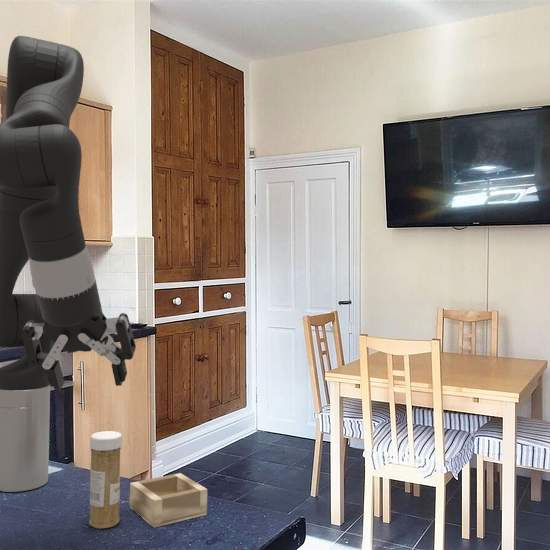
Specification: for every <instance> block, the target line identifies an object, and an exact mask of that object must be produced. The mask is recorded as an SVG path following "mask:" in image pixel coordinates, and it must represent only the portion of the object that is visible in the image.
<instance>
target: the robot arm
mask: <svg viewBox="0 0 550 550" xmlns="http://www.w3.org/2000/svg"><path fill="white" fill-rule="evenodd" d="M6 71H7V72H6V98H5V99H6V101H5V102H6V103H5V106H6V107H5V119H4V120H3V121H2V122H1V123H0V349H1V348H22V347H24V351H25V354H24V355H22V356H21V357H20V358H19V359H17V360H15V361H13V362H11V363H8V364H6V365H3V366H0V492H7V493H13V492H14V493H15V492H24V491H30V490H35V489H38V488H40V487H43V486H44V485H46V484H47V483H48V481H49V462H50V461H49V459H50V458H49V456H50V417H51V415H50V414H51V413H50V412H51V409H50V408H51V400H50V399H51V387H53V389H54V391H61V390H62V388H63V386H64V383H65V378H64V375H63V371H62V367H61V363H60V361H59V359H57V358H58V357H59V355H60V353H61V352H62V350H63V351H66V352H67V353H68V354H71V353H73V354H74V353H77V352H83V353H84V352H85V353H87V352H92V350H93V351H94V352H95V353H97V354H98V355H99V356H100V357H105V358H106V360H108V361H109V362H111V370H112V374H113V379H114V384H115V386H116V387H120V386H122V385H123V382H125V381H126V378H127V375H128V370H127V365H126V360H128V361H129V360H132V359H133V357H134V354H135V351H136V348H137V345H136V341H135V337H134V334H133V330H132V326H131V322H130V319H129V316H128V314H127V313H125V312H123V313H122V312H121V313H120V314H119V316H118V317H110V318H108V317H106V316H105V314H104V313H103V307H102V304H101V299H100V294H99V289H98V285H97V279H96V276H95V271H94V265H93V262H92V258H91V256H90V254H89V251H88V250H89V249H88V247H87V244H86V240H85V236H84V232H83V231H84V230H83V225H82V220H81V215H80V203H79V200H80V199H79V197H80V196H79V195H80V193H79V192H80V191H79V190H80V182H81V181H80V179H81V170H82V157H83V156H82V155H83V153H82V146H81V143H80V141H79V138H78V137H77V135H76V133H74V131H73V130H72V129H70V124H71V123H70V122H71V121H70V120H71V117H72V114H73V112H74V111H75V109H76V107H77V105H78V102H79V100H80V97H81V93H82V90H83V84H84V77H85V74H84V72H85V66H84V59H83V55H82V54H81V53H80V51H78V49H76V48H75V47H72V46H69V45H65V44H63V43H58V42H53V41H49V40H44V39H39V38H35V37H31V36H25V35H18V36H15V37H14V38H13V40H12V42H11V45H10V47H9V52H8V58H7V70H6ZM28 262H29V270H30V275H31V283H32V286H33V288H34V290H35V293H13V292H14V289H15V286H16V283H17V282H18V281H17V280H18V278H19V276H20V274H21V272H22V271H23V269H24V267H25V266H26V265H27V263H28ZM107 329H110V330H111V331H112V333H113V334H114V335H117V337H118V340H119V344H120V345H119V344H117V342H115V341H114V338H113V337H112V336H111V335H110V334H109V333H108V332H106V331H107ZM100 341H101V342H100Z"/></svg>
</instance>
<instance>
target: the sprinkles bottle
mask: <svg viewBox="0 0 550 550" xmlns="http://www.w3.org/2000/svg"><path fill="white" fill-rule="evenodd" d="M122 440H123V435H122V433H121V432H119V431H116V430H115V431H114V430H104V431H102V430H101V431H97V432H94V433H92V434H91V435H90V440H89V445H90V446H89V447H90V453H91V454H90V460H91V461H90V469H89V471H90V474H89V504H90V506H89V508H90V509H89V510H90V511H89V513H90V514H89V521H88V524H89V526H91V527H93V528H95V529H109V528H112V527H115V526H117V525H118V524H119V522H120V521H121V518H120V499H121V469H120V468H121V449H122V446H123V441H122Z"/></svg>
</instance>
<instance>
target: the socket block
mask: <svg viewBox="0 0 550 550" xmlns="http://www.w3.org/2000/svg"><path fill="white" fill-rule="evenodd" d="M129 507H130V508H131V509H132V510H131V509H130V508H129V509H130V510H131V511H133V510H134V511H135V512H136V513H137V514H136V513H135V512H134V511H133V512H134V513H135V514H136V515H137V516H139V515H140V516H141V517H142V520H144V521H145V522H146V523H147V524H149V525H150V526H151V527H152V528H154V529H155V528H158V527H163V526H167V525H171V524H175V523H178V522H183V521H187V520H190V519H194V518H199V517H202V516H203V517H204V516H207V514H208V488H206V487H205V486H202V485H201V484H200V483H198V482H196V481H195V480H192V479H191V478H189V477H188V476H186V475H185V474H183V473H181V472H178V473H174V474H168V475H164V476H159V477H154V478H153V477H152V478H148V479H143V480H138V481H132V482H130V483H129ZM140 516H139V517H140ZM141 517H140V518H141Z"/></svg>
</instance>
